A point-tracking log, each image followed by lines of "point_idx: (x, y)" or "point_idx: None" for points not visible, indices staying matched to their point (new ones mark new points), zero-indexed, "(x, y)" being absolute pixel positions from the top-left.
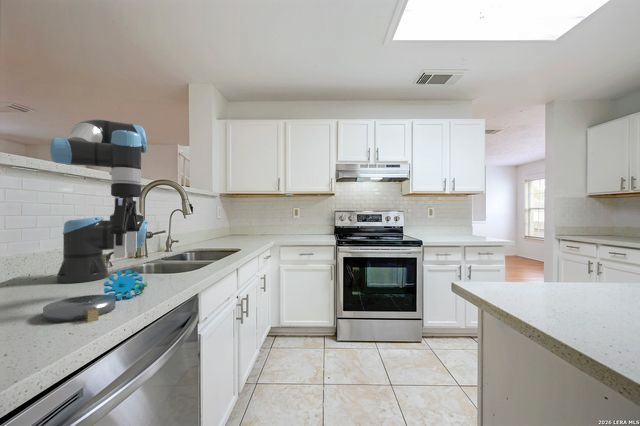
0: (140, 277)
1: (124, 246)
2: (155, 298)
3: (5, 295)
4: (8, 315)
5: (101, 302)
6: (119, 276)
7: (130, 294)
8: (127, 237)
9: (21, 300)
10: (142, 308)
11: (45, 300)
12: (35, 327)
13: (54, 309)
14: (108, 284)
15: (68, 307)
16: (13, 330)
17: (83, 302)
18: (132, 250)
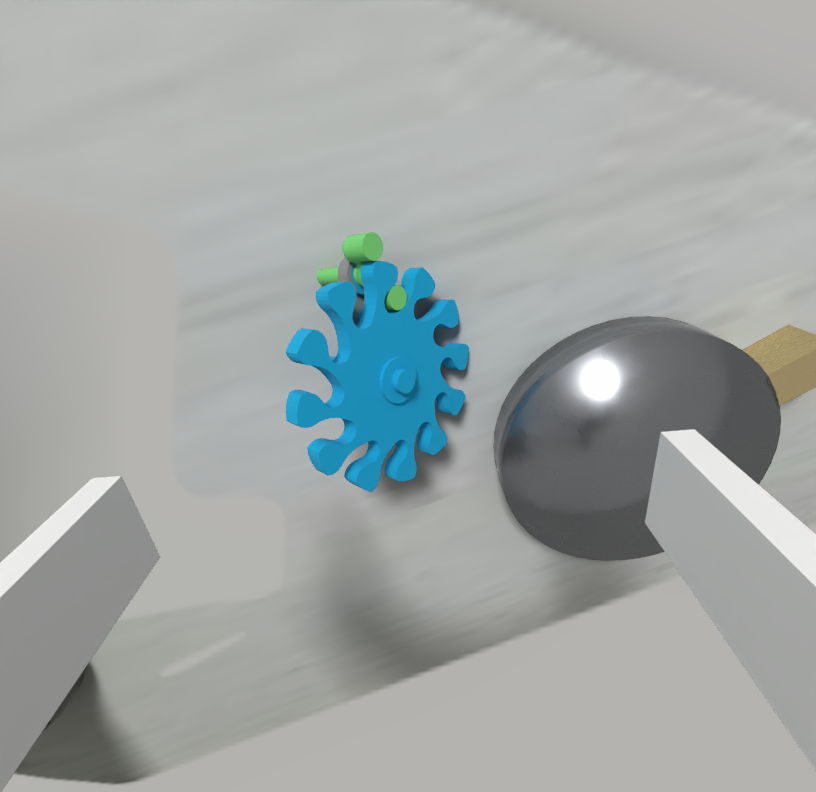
0: (339, 300)
1: (800, 531)
2: (487, 139)
3: (268, 731)
4: (541, 623)
5: (693, 374)
6: (359, 436)
7: (447, 308)
8: (11, 754)
9: (350, 672)
10: (696, 162)
11: (369, 615)
12: None
13: None
14: (412, 454)
15: None
16: None
17: (644, 452)
18: (123, 521)
